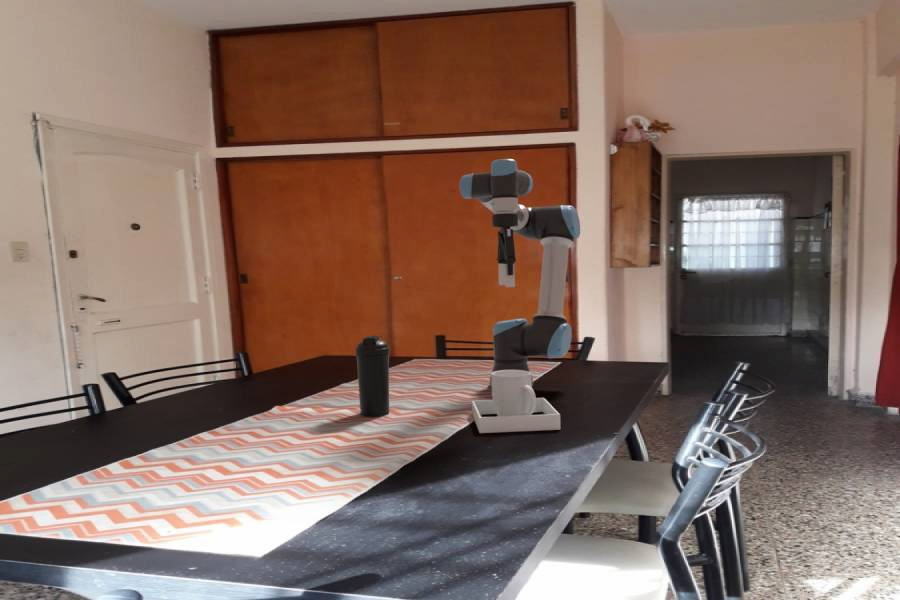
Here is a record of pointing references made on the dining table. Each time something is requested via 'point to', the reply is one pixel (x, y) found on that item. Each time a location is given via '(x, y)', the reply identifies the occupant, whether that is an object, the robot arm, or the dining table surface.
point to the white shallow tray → (515, 418)
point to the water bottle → (373, 376)
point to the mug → (513, 393)
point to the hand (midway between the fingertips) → (506, 286)
